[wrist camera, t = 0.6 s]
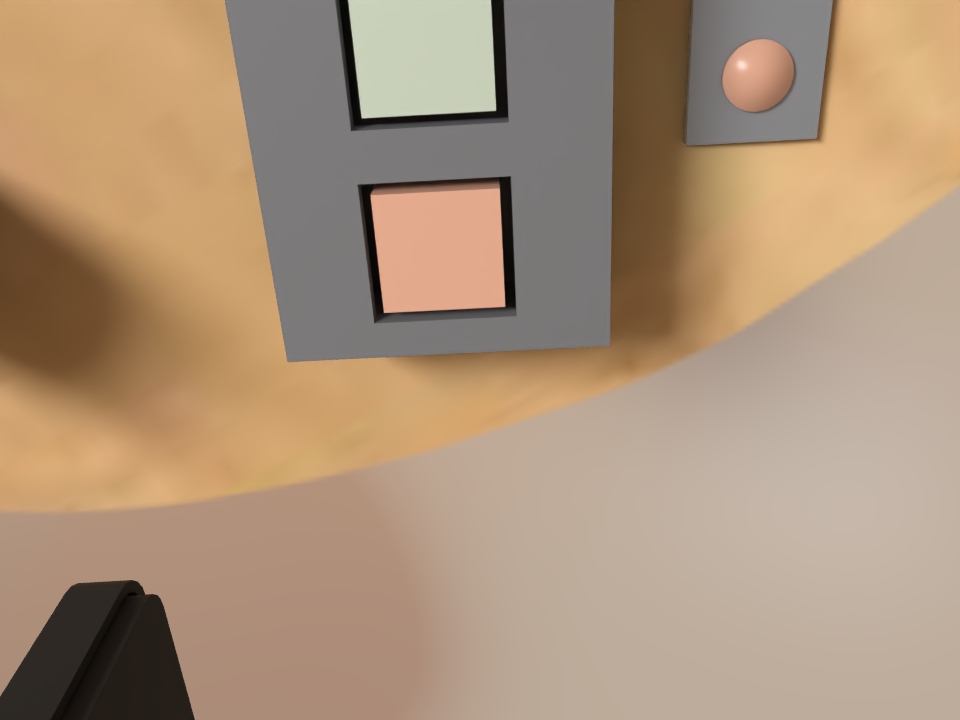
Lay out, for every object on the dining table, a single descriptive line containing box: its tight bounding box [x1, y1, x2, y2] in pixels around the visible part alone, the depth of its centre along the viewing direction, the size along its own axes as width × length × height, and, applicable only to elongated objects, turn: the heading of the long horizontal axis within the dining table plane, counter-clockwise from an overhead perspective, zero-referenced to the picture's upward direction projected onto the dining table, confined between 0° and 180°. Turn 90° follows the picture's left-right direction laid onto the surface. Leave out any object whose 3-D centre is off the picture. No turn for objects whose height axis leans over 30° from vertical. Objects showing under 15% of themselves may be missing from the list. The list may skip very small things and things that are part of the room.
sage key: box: [348, 0, 496, 118], centre depth 30 cm, size 4×4×2 cm
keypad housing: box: [225, 0, 614, 362], centre depth 31 cm, size 22×12×5 cm, turn 3°
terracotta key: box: [371, 177, 505, 313], centre depth 33 cm, size 4×4×2 cm
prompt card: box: [684, 0, 833, 146], centre depth 33 cm, size 10×5×1 cm, turn 3°
